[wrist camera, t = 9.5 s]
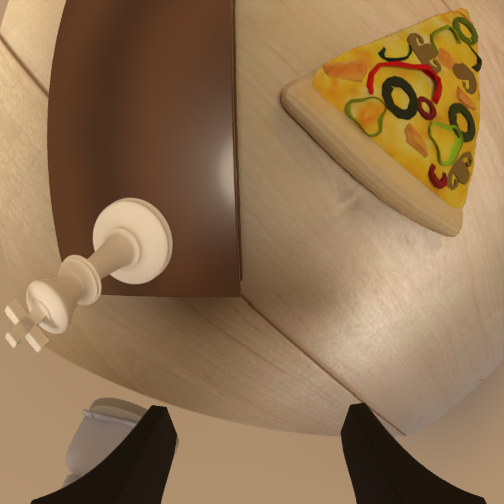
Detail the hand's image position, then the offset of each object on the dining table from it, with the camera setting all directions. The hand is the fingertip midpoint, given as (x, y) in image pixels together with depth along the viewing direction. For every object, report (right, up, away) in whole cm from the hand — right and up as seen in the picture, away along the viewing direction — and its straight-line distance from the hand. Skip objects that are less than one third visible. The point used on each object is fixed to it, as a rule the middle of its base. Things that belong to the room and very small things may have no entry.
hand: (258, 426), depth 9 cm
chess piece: (-7, +7, +6) cm, 12 cm away
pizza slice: (+12, +19, +5) cm, 23 cm away
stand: (-7, +24, +3) cm, 25 cm away
